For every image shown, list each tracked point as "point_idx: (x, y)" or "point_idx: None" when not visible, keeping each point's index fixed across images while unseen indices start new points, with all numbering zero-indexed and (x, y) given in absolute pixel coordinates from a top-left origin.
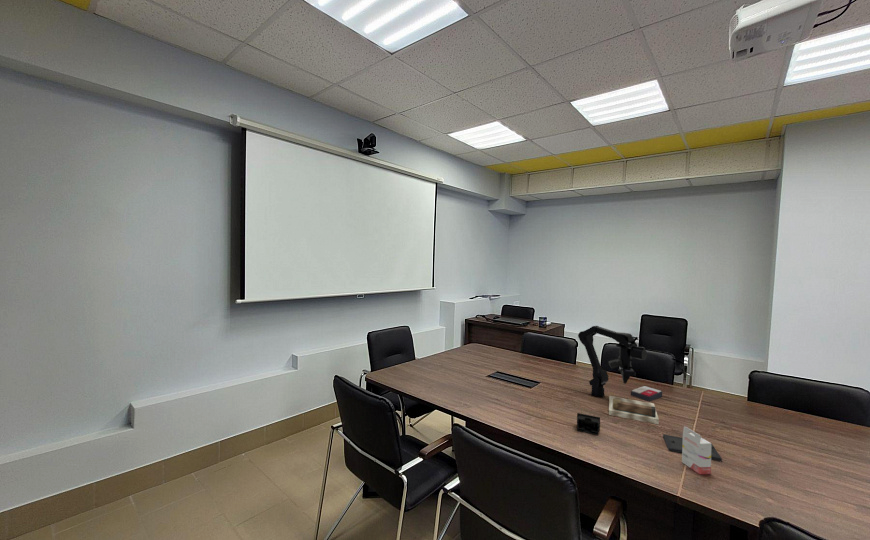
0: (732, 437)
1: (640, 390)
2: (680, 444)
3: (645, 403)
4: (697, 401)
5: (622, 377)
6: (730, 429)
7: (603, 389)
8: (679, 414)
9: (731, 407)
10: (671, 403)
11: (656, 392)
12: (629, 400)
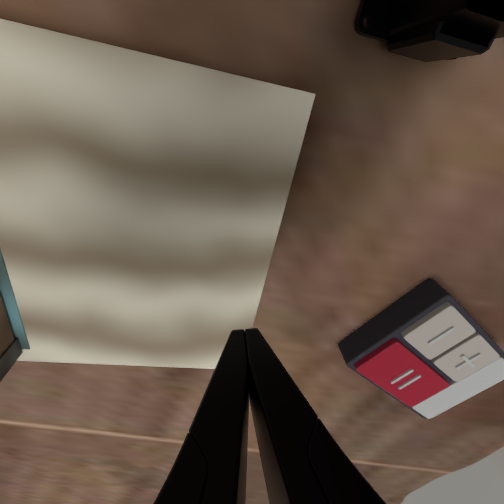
0: (52, 482)
1: (443, 347)
2: None
3: (220, 336)
4: (369, 459)
5: (268, 418)
6: (129, 485)
7: (435, 26)
8: None
9: None
10: (330, 406)
11: (405, 403)
12: (241, 256)
